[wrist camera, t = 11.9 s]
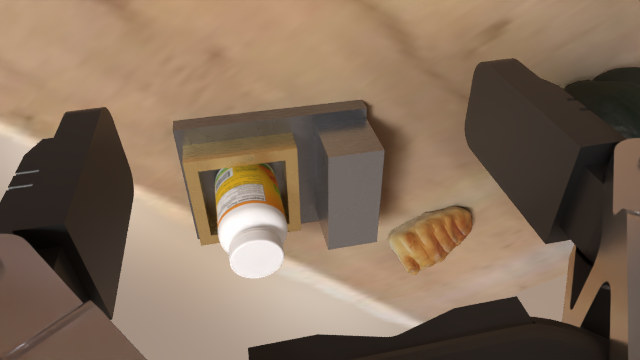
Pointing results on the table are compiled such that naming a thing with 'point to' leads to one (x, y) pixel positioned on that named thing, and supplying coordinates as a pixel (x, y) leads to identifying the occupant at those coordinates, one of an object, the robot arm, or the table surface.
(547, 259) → the table surface
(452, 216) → the pastry
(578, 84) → the squash
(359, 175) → the grey and tan tray
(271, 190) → the supplement bottle
